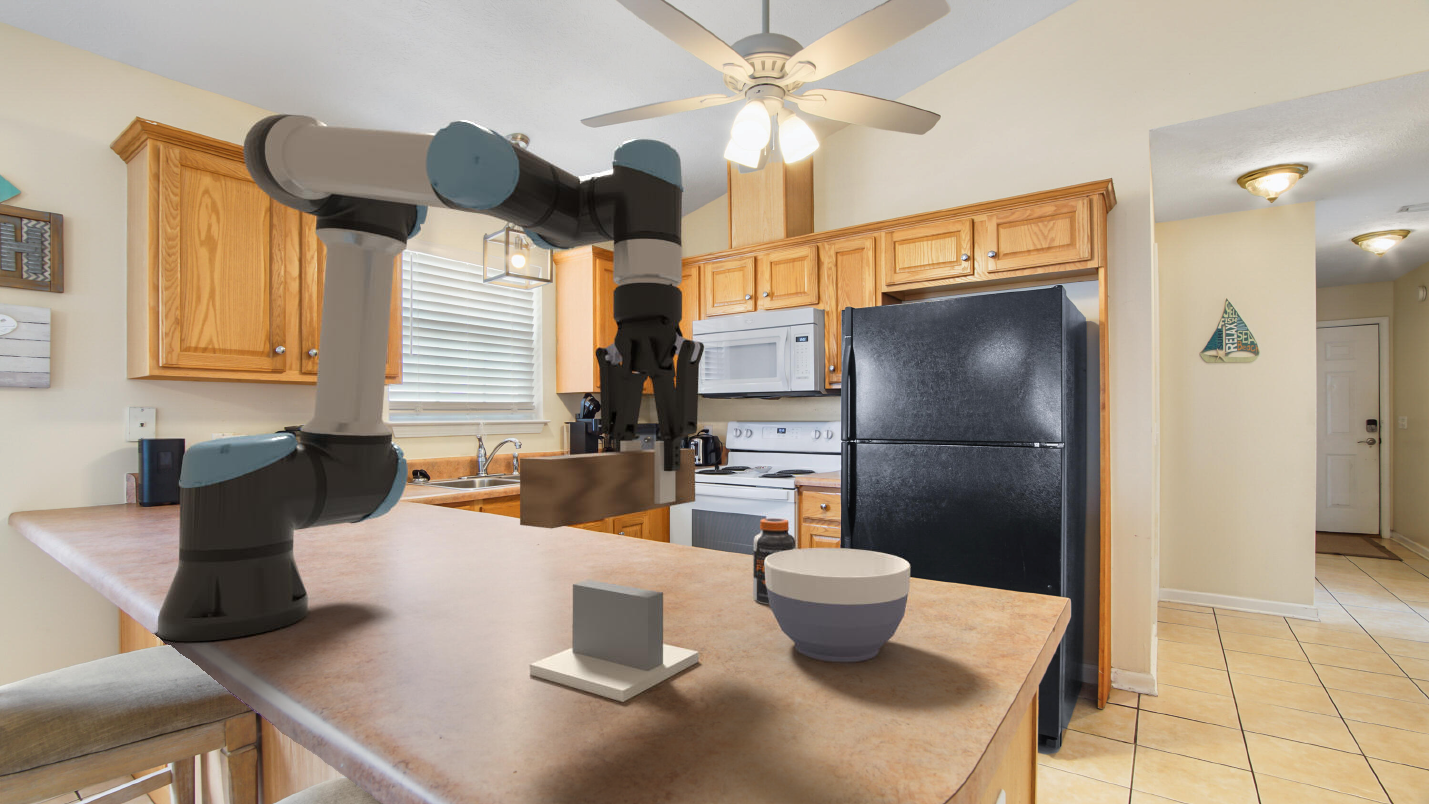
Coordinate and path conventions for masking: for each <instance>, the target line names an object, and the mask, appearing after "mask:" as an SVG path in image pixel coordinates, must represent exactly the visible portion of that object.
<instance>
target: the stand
mask: <svg viewBox="0 0 1429 804" xmlns="http://www.w3.org/2000/svg"><path fill="white" fill-rule="evenodd" d="M571 645H572V647H569V648H568V649H565V650H563V651H561V652H558V653H555V654H553V655H550V656H548V657H545V658H543V659H540V660H538V661H535V662H532V663H530V664H529V675H531V676H533V677H537V678H540V679H544V680H548V681H551V682H554V683H558V684H561V685H564V686H567V687H571V688H575V689H577V690H580V691H583V692H584V691H585V692H588V693H592V694H595V695H597V696H602V697H604V698H608V699H612V700H615V701H619V702H622V703H624V702H626V701H628V700H630V699H631V698H633V697H635V696H637V695H639V694H641V693H643V692H645V691H646V690H648V689H650V688H653V686H656V685H657V684H659V683H661V682H663V681H665V680H667V679H668V678H671V677H672V676H674V675H676V674H678V673H679V672H682V671H683V670H686V669H687V668H689V667H691V666H693V665H695V664H696V663H699V661H700V659H699V655H700V654H699V653H700V652H699V651H697V650H692V649H688V648H683V647H679V646H674V645H669V644H666V643H664V592H662V591H656V590H650V589H644V588H638V587H634V586H627V585H621V584H617V583H615V584H614V583H610V582H603V581H599V580H592V579H587V580H583V581H581V582H576V583H572V644H571Z"/></svg>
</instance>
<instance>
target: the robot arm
mask: <svg viewBox="0 0 1429 804" xmlns="http://www.w3.org/2000/svg"><path fill="white" fill-rule="evenodd" d="M242 152H243V153H242V154H243V160H244V163H245V167H246V170H247V171H248V173H249V175H250V177H251V179H252V180H253V182H254V183H255V185H257V186H258V188H260V190H262V191H263V192H264V193H265V194H266V195H267V196H269V197H270V198H272V200H274V201H276V202H278V203H279V204H281V205H283V206H285V207H287V208H290V209H294V210H296V211H298V212H302V213H304V214H308V215H312V216H314V217H315V218H316V220H315V223H316V224H315V236H317V237H318V238H319V240H320V241H321V242H322V243H323V245H325V248H326V254H325V255H326V257H325V267H324V268H325V270H324V272H325V273H324V284H323V294H322V295H323V296H322V308H321V321H320V322H321V323H320V324H321V325H320V336H319V350H318V351H319V352H318V363H317V364H318V365H317V376H316V387H315V388H316V391H315V399H314V400H315V402H314V415H313V417H312V418H311V419H310V420H309V421H307V422H306V423H305V424H303V425H302V426H301V427H300V434H299V442H298V440H297V439H296V436H295V435H294V434H293V433H289V432H279V433H278V432H277V433H276V432H275V433H263V434H255V435H249V434H248V435H241V436H232V437H225V438H224V437H222V438H217V439H211V440H210V439H209V440H206V441H201V442H198V443H195V444H193V445H191V446H190V447H188V448H187V449H186V450H185V451H184V453H183V457H182V465H181V471H180V478H179V479H178V486H179V490H180V491H179V534H178V537H179V539H178V542H179V543H178V548H179V549H178V566H177V570H176V572H175V575H174V576H173V579H172V582H171V584H170V586H169V589H168V591H167V594H166V596H165V599H163V600H164V601H163V603H162V605H161V608H160V610H159V613H158V616H157V617H158V618H157V636H158V637H159V638H161V639H164V640H167V641H175V642H202V641H203V642H205V641H216V640H225V639H234V638H240V637H247V636H252V635H256V634H261V633H264V632H265V633H266V632H271V631H273V630H277V629H281V628H283V627H287V626H289V625H292V624H294V623H297V622H299V621H301V620H303V619H304V618H305V617H307V615H308V614H309V609H308V608H309V597H308V596H309V595H308V592H307V590H306V588H305V584H304V582H303V578H302V576H301V573H300V570H299V567H298V566H297V562H296V560H295V557H294V537H295V535H294V533H295V532H294V531H298V530H299V531H300V530H305V529H312V528H318V527H328V526H333V525H341V524H350V525H351V524H357V523H362V522H364V521H368V520H373V519H375V518H376V519H377V518H380V517H383V516H384V515H386V514H387V513H389V512H390V511H391V510H392V509H393V508H394V507H396V506H397V505H398V503H399V502H400V500H401V498H402V497H403V495H404V492H405V488H406V486H407V482H408V472H409V471H408V470H409V468H408V462H407V459H406V458H405V457H404V455H405V453H404V451H403V450H402V449H401V447H400V446H399V445H398V444H396V443H395V442H393V430H392V429H391V428H390V427H389V426H388V425H387V424H386V423H385V422H384V421H383V413H384V398H385V387H386V386H385V384H386V374H387V373H386V371H387V359H388V357H387V356H388V344H389V333H390V330H389V329H390V319H391V318H390V317H391V303H392V291H393V280H394V279H393V278H394V265H395V258H396V257H397V256H398V255H400V254H401V253H402V252H404V251H405V250H407V246H408V245H407V244H408V240H411V239H413V238H414V237H416V236H417V235H418V234H419V233H420V231H422V227H421V225H424V224H425V222H426V220H427V216H428V210H429V207H430V208H431V207H432V208H440V209H447V210H448V209H449V210H455V211H461V212H465V213H474V214H480V215H485V216H490V217H493V218H495V219H500V220H502V221H504V222H507V223H511V224H513V225H515V226H518V227H520V228H522V230H523V233H524V234H525V236H526V237H527V238H529V239H530V240H531V241H532V243H533V245H535V246H536V247H537V248H540V249H541V250H548V251H549V250H562V251H563V250H569V249H574V248H578V247H584V246H587V245H588V246H589V245H594V244H601V243H607V242H611V241H612V242H613V263H612V264H613V266H612V267H613V269H612V270H613V271H612V274H613V275H612V279H613V280H612V281H613V283H614V284H615V285H617V287H615V289H614V290H613V297H612V299H613V301H612V302H613V305H612V306H613V307H612V308H613V309H612V310H613V317H612V318H613V320H614V321H615V323H616V325H617V330H616V334H615V337H614V341H613V343H611V344H610V345H608V346H607V347H601V346H600V347H597V348H596V350H595V356H596V362H597V363H598V367H599V389H600V390H599V392H600V393H599V394H600V395H599V396H600V429H601V433H602V434H603V435H608V436H610V437H613V438H614V440H615V447H616V448H615V449H616V450H615V452H622V451H637V450H642V440H638V439H640V438H641V437H640V435H639V434H637V431H638V422H639V417H640V411H641V410H640V409H641V405H642V399H643V392H644V385H645V382H647V380H648V378H649V379H650V380H651V384H652V391H653V397H654V403H655V408H656V410H655V411H656V415H657V421H658V428H659V434H660V435H657V436H656V439H657V440H658V441H653V442H654V444H653V445H654V448H653V449H654V452H655V503H657V504H662V503H668V502H674V501H675V471H679V469H680V466H681V461H680V460H681V457H680V456H681V449H682V448H681V445H682V444H681V443H682V441H683V439H684V438H686V437H688V436H690V435H695V434H696V433H697V430H698V414H699V413H698V408H699V405H698V404H699V379H700V378H699V376H700V375H699V374H700V371H699V370H700V364H701V363H700V361H701V359H702V357H703V353H704V350H705V346H704V343H703V342H700V341H696V340H691V339H688V338H685V337H684V334H683V333H682V330H681V327H680V323H681V321H682V319H683V291H682V290H681V289H680V288H679V286H680V285H681V284H682V281H683V279H682V278H683V275H682V274H683V267H682V266H683V259H682V257H683V252H682V251H683V248H682V219H683V218H682V217H683V216H682V214H683V213H682V211H683V210H682V209H683V207H682V206H683V193H684V187H683V182H682V181H683V178H682V177H683V176H682V166H681V165H682V162H681V156H680V154H679V152H677V150H676V149H674V148H673V147H672V146H670V144H668V143H666V142H663V141H660V140H656V139H649V138H646V139H645V138H640V139H639V138H638V139H631V140H627V141H624V142H622V144H621V145H619V146H617V147H616V148H615V150H614V153H613V161H612V162H611V164H612V169H610V170H607V171H603V172H600V173H594V174H591V175H590V174H588V175H585V176H576V175H574V174H573V173H570V172H568V171H567V170H564V169H562V168H561V167H559V166H557V165H555V164H553V163H551V162H549V161H547V160H546V159H544V158H542V157H540V156H538V155H537V154H534V153H533V152H531V151H529V150H527V149H525V148H523V147H522V146H520V145H518V144H516V143H514V142H513V141H510V140H509V139H508V138H505V137H504V136H503V135H501V134H499V133H498V132H497V131H496V130H493V129H490V128H486V127H482V126H480V125H478V124H475V123H474V122H471V121H468V120H454V121H451V122H450V123H449V124H448V125H447V126H444V127H441V128H440V129H439V130H437V132H436V133H433V132H432V133H431V132H418V131H416V132H415V131H401V130H385V129H373V128H372V129H370V128H358V127H346V126H345V127H342V126H341V127H340V126H329V125H327V124H325V123H323V122H322V121H321V120H319V119H317V118H314V117H312V116H308V115H303V114H302V115H301V114H283V113H282V114H273V115H269V116H267V117H264V118H262V119H260V120H258V121H257V122H256V123H255V124H253V126H252V127H251V128H250V129H249V131H248V132H247V134H246V136H245V138H244V142H243V149H242ZM675 356H677V359H676V365H675V362H674V358H675ZM675 366H676V367H675Z"/></svg>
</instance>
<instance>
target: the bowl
mask: <svg viewBox="0 0 1429 804" xmlns="http://www.w3.org/2000/svg"><path fill="white" fill-rule="evenodd" d="M764 567H765V583H766V588H767V593H768V598H769V604H768V605H769V607H770V610H771V612H772V613H773V616H774V617H775V620H776V621H777V624H778V626H779V627H780V630H781V631H782V632H783V633H784V634H785V635H786V636H787V637H788V638H789V639H790V640H791V641H792V642H793V643H794V647H795V649H796V651H798V652H799V653H800V654H802V655H804V656H806V657H808V658H811V659H815V660H819V661H822V662H823V661H825V662H830V663H856V662H863V661H867V660H870V659H873V658H875V657H876V656H877V655H878V654H879V652H880V648H881V647H882V646H884V644H886V643H887V642H888V641H889V640H890V639H892V638H893V637H894V636H895V633H896V631H897V630H898V628H899V626H900V624H901V622H902V620H903V618H904V617H905V614H906V608H907V603H908V598H909V593H910V583H911V564H910V563H909V561H907V560H906V559H904V558H902V557H899V556H897V555H894V554H888V553H884V552H881V551H879V552H878V551H874V550H866V549H856V548H855V549H854V548H842V547H808V548H797V549H796V548H795V549H794V550H787V551H781V552H777V553H773V554H771V555H769V556H767V557H766V558H765V561H764Z"/></svg>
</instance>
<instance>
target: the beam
mask: <svg viewBox="0 0 1429 804" xmlns="http://www.w3.org/2000/svg"><path fill="white" fill-rule="evenodd" d="M680 457H681V460H680V461H681V466H680V469H679V471H675V501H674V502H668V503H662V504H657V503H655V452H654V448H653V449H641V450H637V451H622V452H616V451H612V452H611V451H608V452H594V453H579V454H565V455H563V454H562V455H553V456H552V455H551V456H537V457H536V456H533V457H522V458H519V526H526V527H527V526H528V527H536V528H543V529H557V528H562V527H567V526H568V527H569V526H571V525H578V524H582V523H583V524H584V523H587V522H593V521H598V520H603V519H609V518H615V517H620V516H625V515H630V514H636V513H640V512H647V511H652V510H656V509H662V508H663V509H664V508H667V507H673V506H679V505H682V504H689V503H694V502H696V449H695V448H681V456H680Z"/></svg>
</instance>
